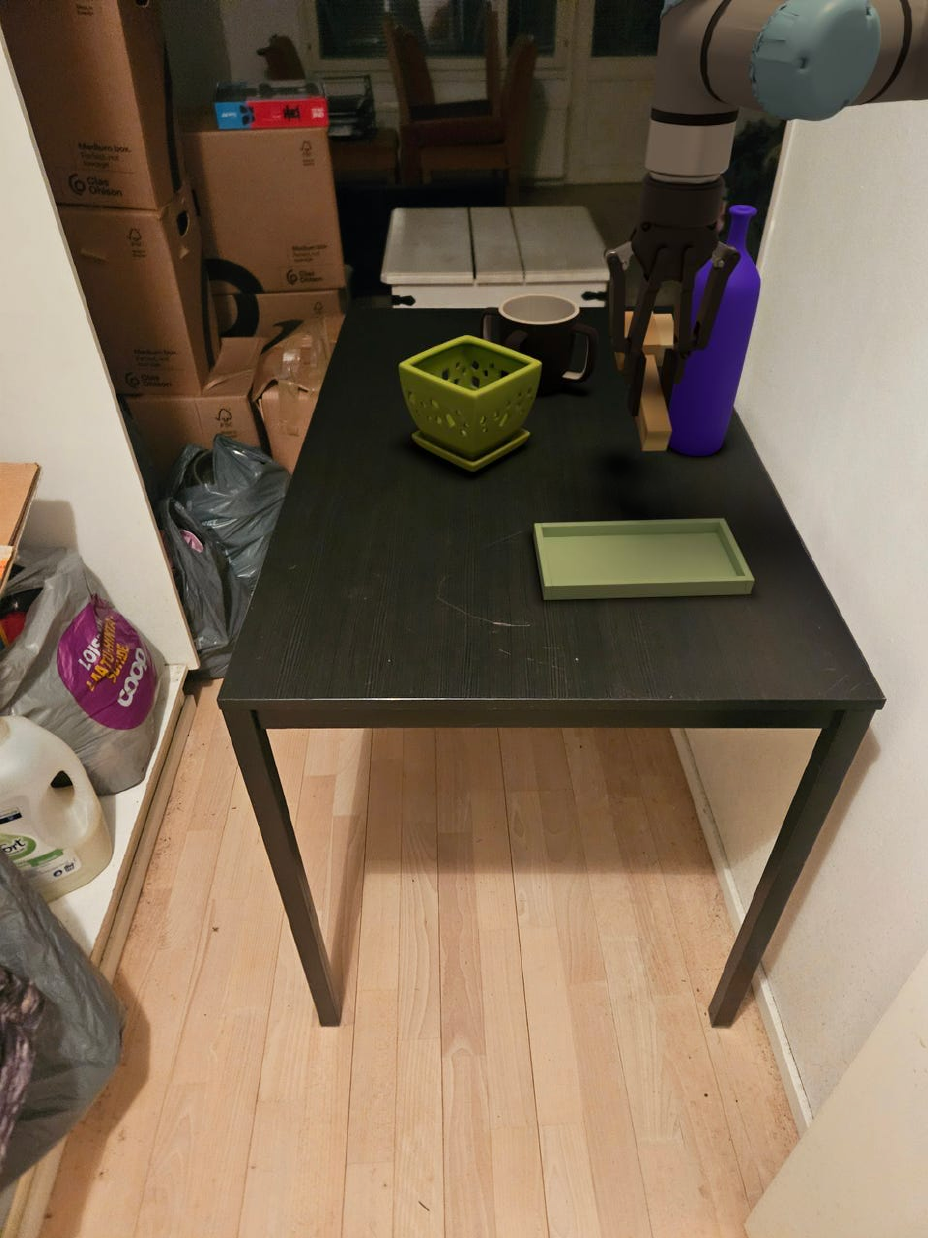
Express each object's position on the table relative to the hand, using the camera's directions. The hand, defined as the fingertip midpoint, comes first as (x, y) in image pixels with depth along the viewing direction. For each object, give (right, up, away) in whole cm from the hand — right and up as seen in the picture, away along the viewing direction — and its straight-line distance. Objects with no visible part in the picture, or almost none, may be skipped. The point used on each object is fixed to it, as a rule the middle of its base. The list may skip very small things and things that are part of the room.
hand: (647, 409), depth 86 cm
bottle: (+12, +1, +22) cm, 25 cm away
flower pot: (-20, 0, +21) cm, 29 cm away
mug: (-9, +14, +36) cm, 40 cm away
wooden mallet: (+1, +3, +3) cm, 4 cm away
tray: (-1, -17, +1) cm, 17 cm away
